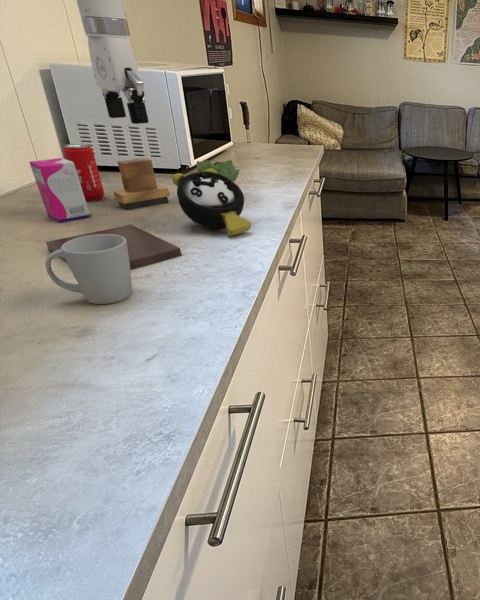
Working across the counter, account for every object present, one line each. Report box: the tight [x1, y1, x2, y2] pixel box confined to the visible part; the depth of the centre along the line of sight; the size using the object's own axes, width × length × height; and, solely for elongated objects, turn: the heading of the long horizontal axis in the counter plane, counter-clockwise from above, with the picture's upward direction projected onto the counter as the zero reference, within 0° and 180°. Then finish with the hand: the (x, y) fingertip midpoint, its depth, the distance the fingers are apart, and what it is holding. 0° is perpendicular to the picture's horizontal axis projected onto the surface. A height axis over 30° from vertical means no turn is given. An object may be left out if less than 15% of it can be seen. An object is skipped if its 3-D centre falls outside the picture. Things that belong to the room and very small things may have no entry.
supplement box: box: [29, 157, 91, 223], centre depth 96 cm, size 6×6×12 cm
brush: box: [113, 157, 170, 211], centre depth 107 cm, size 10×4×10 cm, turn 145°
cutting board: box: [45, 224, 182, 270], centre depth 84 cm, size 14×18×2 cm
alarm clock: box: [172, 168, 252, 236], centre depth 97 cm, size 12×15×15 cm
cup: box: [45, 234, 133, 305], centre depth 68 cm, size 8×10×8 cm
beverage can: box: [63, 143, 105, 202], centre depth 108 cm, size 5×5×12 cm
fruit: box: [195, 159, 241, 187], centre depth 115 cm, size 10×11×15 cm
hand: (128, 120), depth 101 cm, fingers open, 9 cm apart
